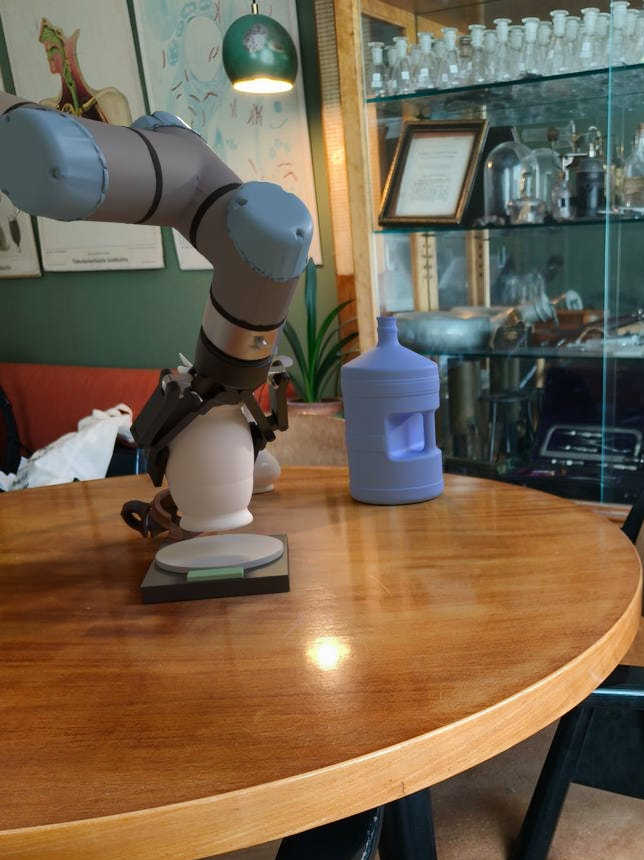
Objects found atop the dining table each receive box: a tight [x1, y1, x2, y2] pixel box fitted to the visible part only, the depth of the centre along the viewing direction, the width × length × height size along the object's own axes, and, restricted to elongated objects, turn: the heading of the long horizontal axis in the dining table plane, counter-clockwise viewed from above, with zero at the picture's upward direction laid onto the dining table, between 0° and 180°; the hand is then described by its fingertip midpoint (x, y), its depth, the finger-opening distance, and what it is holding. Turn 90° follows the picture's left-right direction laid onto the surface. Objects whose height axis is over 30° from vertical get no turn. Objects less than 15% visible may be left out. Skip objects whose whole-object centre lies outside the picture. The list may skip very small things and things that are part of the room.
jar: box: [164, 397, 254, 533], centre depth 103 cm, size 11×10×15 cm
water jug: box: [340, 315, 445, 506], centre depth 142 cm, size 16×16×28 cm
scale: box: [139, 533, 291, 605], centre depth 107 cm, size 16×19×3 cm
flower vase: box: [177, 347, 294, 495], centre depth 149 cm, size 13×18×25 cm
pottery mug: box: [119, 487, 204, 543], centre depth 121 cm, size 12×10×8 cm
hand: (200, 471), depth 106 cm, fingers closed on jar, 11 cm apart
